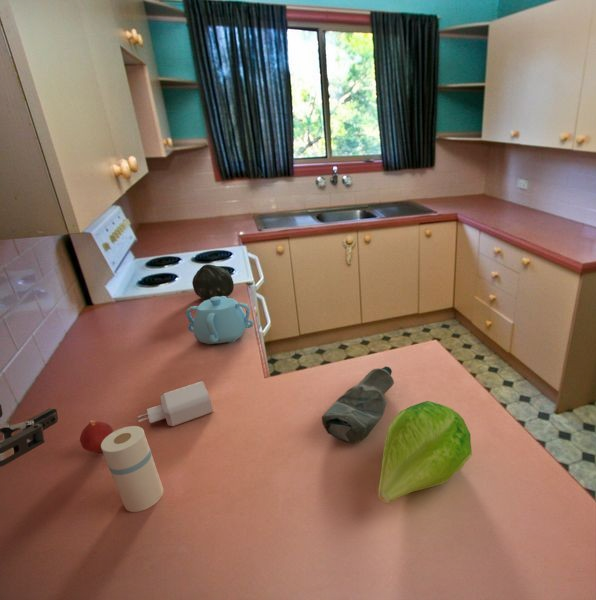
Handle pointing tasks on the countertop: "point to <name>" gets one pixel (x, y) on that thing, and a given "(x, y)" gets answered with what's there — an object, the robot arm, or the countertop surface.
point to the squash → (212, 282)
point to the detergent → (359, 407)
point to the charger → (181, 405)
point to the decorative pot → (219, 320)
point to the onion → (94, 435)
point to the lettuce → (422, 449)
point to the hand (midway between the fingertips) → (27, 411)
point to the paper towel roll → (132, 468)
